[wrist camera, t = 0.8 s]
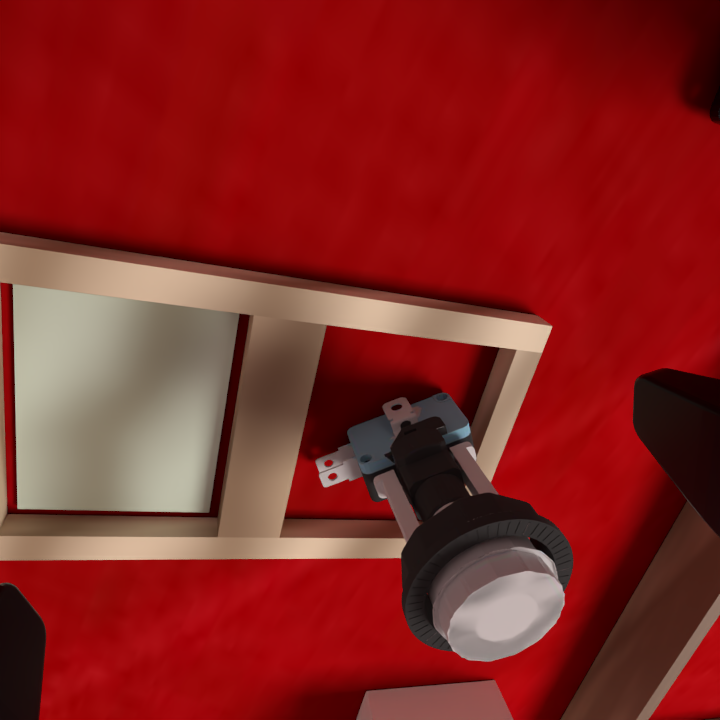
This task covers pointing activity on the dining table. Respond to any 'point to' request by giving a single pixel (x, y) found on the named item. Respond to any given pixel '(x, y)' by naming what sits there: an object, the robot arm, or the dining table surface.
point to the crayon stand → (436, 703)
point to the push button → (457, 533)
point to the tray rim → (656, 627)
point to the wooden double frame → (198, 401)
